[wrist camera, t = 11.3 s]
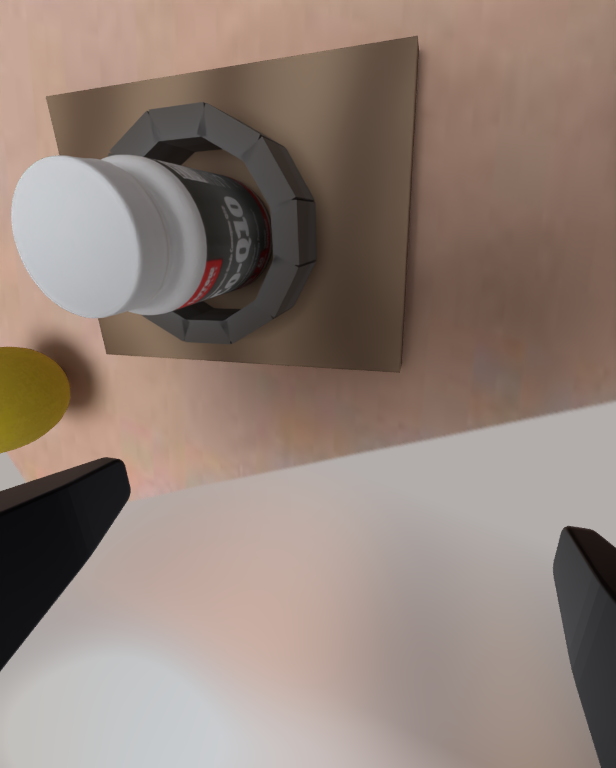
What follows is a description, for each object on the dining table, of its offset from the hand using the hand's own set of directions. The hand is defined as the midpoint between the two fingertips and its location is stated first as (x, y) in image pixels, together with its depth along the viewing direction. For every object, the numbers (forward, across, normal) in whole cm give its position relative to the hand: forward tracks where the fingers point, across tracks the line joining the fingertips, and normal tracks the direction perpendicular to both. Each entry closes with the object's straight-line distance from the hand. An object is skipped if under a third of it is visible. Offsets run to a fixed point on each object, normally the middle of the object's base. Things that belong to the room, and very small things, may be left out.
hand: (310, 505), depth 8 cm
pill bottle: (+11, +7, -5) cm, 14 cm away
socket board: (+12, +7, -5) cm, 15 cm away
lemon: (+12, +20, +3) cm, 24 cm away
